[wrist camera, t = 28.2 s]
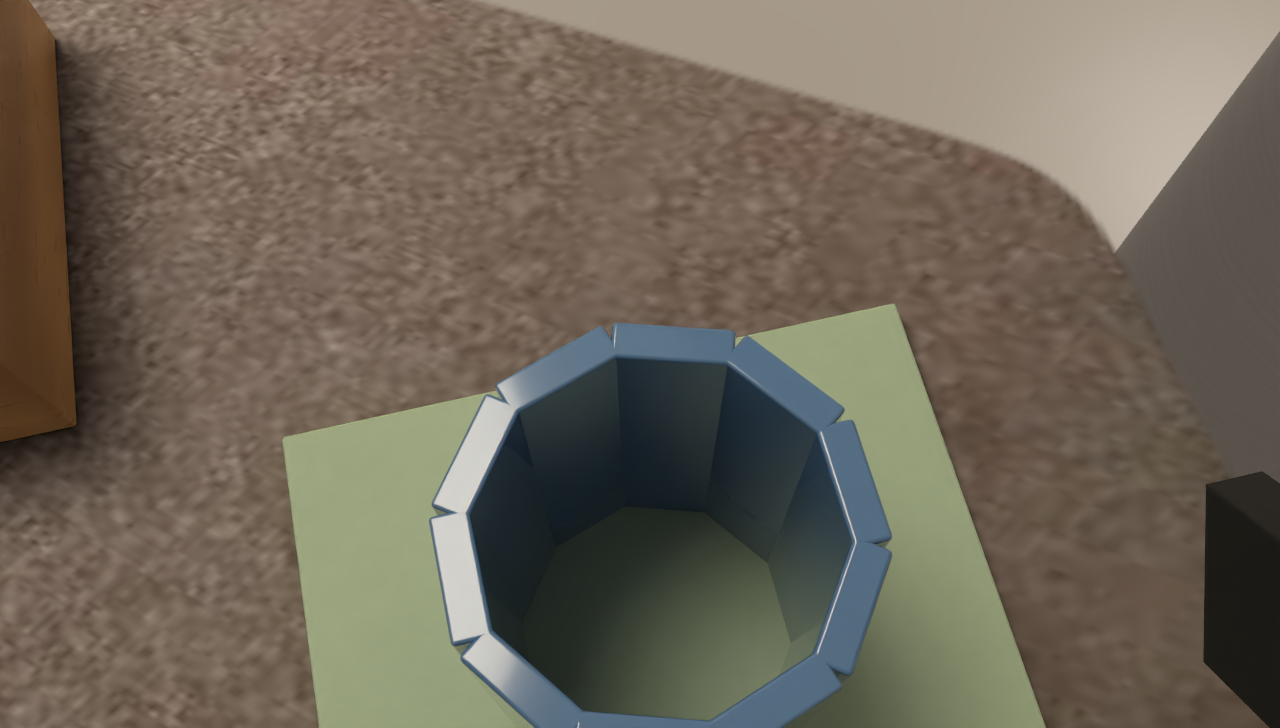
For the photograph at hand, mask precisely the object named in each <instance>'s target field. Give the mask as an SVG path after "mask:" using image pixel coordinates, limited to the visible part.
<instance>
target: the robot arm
mask: <svg viewBox="0 0 1280 728" xmlns="http://www.w3.org/2000/svg"><path fill="white" fill-rule="evenodd" d="M1204 663H1205V664H1206V665H1207V666H1208V667H1209V668H1210V669H1211V670H1212V671H1213V672H1214V673H1215V674H1216V675H1217V676H1218V677H1219V678H1220V679H1221V680H1222V681H1223V682H1224V683H1225V684H1226V685H1227V686H1228V687H1229V688H1230V689H1231V690H1232V691H1233V692H1234V693H1235V694H1236V695H1237V696H1238V697H1239V698H1240V699H1241V700H1242V701H1243V702H1244V703H1245V704H1246V705H1247V706H1248V707H1249V708H1250V709H1251V710H1252V711H1253V712H1254V713H1255V714H1256V715H1257V716H1258V717H1259V718H1261V719H1262V720H1263V721H1264V722H1265V723H1266V724H1267V725H1268V726H1269V727H1270V728H1280V483H1278V482H1277V481H1275V480H1274V479H1272V478H1271V477H1270V476H1268V475H1267V474H1265V473H1264V472H1258V473H1253V474H1249V475H1245V476H1241V477H1236V478H1232V479H1228V480H1224V481H1219V482H1215V483H1211V484H1206V528H1205V596H1204Z"/></svg>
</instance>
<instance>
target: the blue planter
mask: <svg viewBox="0 0 1280 728" xmlns="http://www.w3.org/2000/svg"><path fill="white" fill-rule="evenodd" d="M735 342H736V334H735V332H734V331H732V330H718V329H703V328H688V327H673V326H658V325H643V324H628V323H614V325H613V326H612V334H611V338H610V336H609V335H608V333H607V332H606V330H605V329H604V328H603V327H602V326H599V327H597V328H595V329H593V330H591V331H590V332H588V333H586V334H584V335H582V336H581V337H579V338H577V339H575V340H574V341H572V342H570V343H568V344H566V345H565V346H563V347H561V348H559V349H557V350H556V351H554V352H552V353H550V354H548V355H547V356H545V357H543V358H541V359H539V360H538V361H536V362H534V363H532V364H530V365H529V366H527V367H525V368H523V369H522V370H520V371H518V372H516V373H514V374H513V375H511V376H509V377H507V378H505V379H504V380H502V381H500V382H498V383H497V384H496V385H495V388H496V392H497V395H498V398H497V397H494V396H492V395H489V394H486V395H485V396H484V398H483V400H482V402H481V404H480V406H479V408H478V410H477V412H476V414H475V416H474V418H473V420H472V422H471V424H470V426H469V428H468V430H467V432H466V434H465V436H464V438H463V440H462V442H461V444H460V446H459V448H458V450H457V452H456V454H455V456H454V458H453V460H452V462H451V464H450V466H449V468H448V470H447V472H446V475H445V477H444V479H443V481H442V483H441V485H440V487H439V489H438V491H437V493H436V495H435V497H434V499H433V501H432V505H431V506H432V508H433V509H434V511H435V513H436V515H437V516H434V517H431V518H430V519H429V526H430V531H431V537H432V542H433V548H434V553H435V559H436V564H437V570H438V576H439V581H440V587H441V592H442V598H443V603H444V609H445V614H446V620H447V625H448V631H449V637H450V642H451V644H452V646H453V647H454V648H455V650H456V651H457V652H458V653H459V654H460V660H461V662H462V663H463V664H464V666H465V667H466V668H467V669H468V670H469V672H470V673H471V674H472V675H473V676H474V678H475V679H476V680H477V681H478V682H479V684H480V685H481V686H482V687H483V688H484V690H485V691H486V692H487V693H488V694H489V695H490V697H491V698H492V699H493V700H494V701H495V703H496V704H497V705H498V706H499V707H500V709H501V710H502V711H503V712H504V713H505V715H506V716H507V717H508V718H509V719H510V721H511V722H512V723H513V724H514V725H515V727H516V728H803V727H804V726H805V725H806V724H807V723H808V722H809V721H810V720H811V719H812V718H813V717H814V716H815V715H816V714H817V713H818V712H819V711H820V710H821V709H822V708H823V707H824V706H825V705H826V704H827V703H828V702H829V701H830V700H831V699H832V698H833V697H834V696H835V695H836V694H837V693H838V692H839V691H840V690H841V689H842V684H843V683H844V682H845V681H846V680H847V679H848V678H849V677H850V676H851V675H852V674H853V672H854V669H855V666H856V663H857V661H858V658H859V655H860V652H861V649H862V646H863V643H864V640H865V637H866V634H867V631H868V628H869V625H870V622H871V619H872V616H873V613H874V610H875V607H876V604H877V601H878V598H879V595H880V592H881V589H882V586H883V583H884V580H885V577H886V574H887V571H888V568H889V565H890V562H891V559H892V552H891V551H890V550H889V549H886V546H887V545H888V543H889V542H890V541H891V539H892V533H891V530H890V527H889V524H888V521H887V518H886V515H885V512H884V509H883V506H882V503H881V500H880V497H879V494H878V491H877V488H876V485H875V482H874V479H873V476H872V473H871V470H870V467H869V464H868V461H867V458H866V455H865V452H864V449H863V446H862V443H861V440H860V437H859V434H858V431H857V428H856V425H855V423H854V422H853V420H845V421H841V418H842V416H843V414H844V411H845V409H844V407H843V406H842V405H840V404H839V403H838V402H836V401H835V400H834V399H832V398H831V397H830V396H828V395H827V394H826V393H824V392H823V391H822V390H820V389H819V388H818V387H816V386H815V385H814V384H812V383H811V382H810V381H808V380H807V379H806V378H804V377H803V376H802V375H800V374H799V373H798V372H796V371H795V370H794V369H792V368H791V367H789V366H788V365H787V364H785V363H784V362H783V361H781V360H780V359H779V358H777V357H776V356H775V355H773V354H772V353H771V352H769V351H768V350H767V349H765V348H764V347H763V346H761V345H760V344H759V343H757V342H756V341H755V340H753V339H752V338H751V337H749V336H745V337H744V338H743V339H742V340H741V341H740V342H739V343H738V344H737V346H736V347H735ZM840 421H841V422H840ZM623 507H639V508H653V509H667V510H681V511H695V512H705V513H706V514H707V515H708V516H710V517H711V518H712V519H713V520H715V521H716V522H717V523H718V524H720V525H721V526H722V527H723V528H725V529H726V530H727V531H728V532H730V533H731V534H732V535H733V536H735V537H736V538H737V539H738V540H739V541H741V542H742V543H743V544H744V545H746V546H747V547H748V548H749V549H751V550H752V551H753V552H754V553H756V554H757V555H758V556H759V557H761V558H762V559H763V560H764V561H766V562H767V563H768V566H769V569H770V573H771V576H772V580H773V583H774V587H775V590H776V594H777V597H778V600H779V604H780V607H781V611H782V614H783V618H784V621H785V625H786V628H787V631H788V635H789V638H790V642H791V644H790V646H789V649H788V652H787V655H786V658H785V660H784V663H783V666H782V669H781V672H780V674H779V676H777V677H776V678H774V679H773V680H771V681H770V682H768V683H767V684H765V685H764V686H762V687H760V688H759V689H757V690H756V691H754V692H753V693H751V694H750V695H748V696H747V697H745V698H743V699H742V700H740V701H739V702H737V703H736V704H734V705H733V706H731V707H730V708H728V709H727V710H725V711H723V712H722V713H720V714H719V715H717V716H716V717H714V718H713V719H711V720H710V721H709V720H696V719H683V718H670V717H657V716H644V715H631V714H618V713H605V712H592V711H584V710H583V709H581V708H580V707H579V706H578V705H577V704H576V703H575V702H574V701H572V700H571V699H570V698H569V697H568V696H567V695H566V694H565V693H563V692H562V691H561V690H560V689H559V688H558V687H557V686H556V685H554V684H553V683H552V682H551V681H550V680H549V679H548V678H547V677H545V676H544V675H543V674H542V673H541V672H540V671H539V670H538V669H536V668H535V667H534V666H533V665H532V664H531V663H530V659H529V655H528V650H527V645H526V640H525V635H524V630H523V625H522V622H523V620H524V617H525V615H526V613H527V611H528V608H529V606H530V604H531V602H532V599H533V597H534V595H535V593H536V590H537V588H538V586H539V584H540V582H541V579H542V577H543V575H544V573H545V570H546V568H547V566H548V564H549V561H550V559H551V557H552V555H553V552H554V550H555V548H556V547H558V546H559V545H561V544H563V543H564V542H566V541H568V540H569V539H571V538H573V537H574V536H576V535H578V534H580V533H581V532H583V531H585V530H586V529H588V528H590V527H591V526H593V525H595V524H596V523H598V522H600V521H601V520H603V519H605V518H606V517H608V516H610V515H611V514H613V513H615V512H616V511H618V510H620V509H621V508H623Z"/></svg>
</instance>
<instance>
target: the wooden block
mask: <svg viewBox="0 0 1280 728" xmlns="http://www.w3.org/2000/svg"><path fill="white" fill-rule="evenodd" d="M73 426H76V406H75V388H74V371H73V353H72V335H71V318H70V300H69V283H68V265H67V247H66V230H65V212H64V194H63V177H62V159H61V142H60V124H59V106H58V89H57V71H56V53H55V37H54V36H53V34H52V33H51V31H50V30H49V29H48V27H47V26H46V24H45V23H44V21H43V20H42V19H41V17H40V16H39V14H38V13H37V11H36V10H35V9H34V7H33V6H32V4H31V3H30V1H29V0H0V442H3V441H8V440H13V439H17V438H22V437H27V436H31V435H36V434H41V433H45V432H50V431H55V430H59V429H64V428H68V427H73Z"/></svg>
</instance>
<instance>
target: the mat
mask: <svg viewBox="0 0 1280 728" xmlns="http://www.w3.org/2000/svg"><path fill="white" fill-rule="evenodd" d="M748 336H749V337H751V338H752V339H753V340H755V341H756V342H757V343H759V344H760V345H761V346H763V347H764V348H765V349H767V350H768V351H769V352H771V353H772V354H773V355H775V356H776V357H777V358H779V359H780V360H781V361H783V362H784V363H785V364H787V365H788V366H789V367H791V368H792V369H794V370H795V371H796V372H798V373H799V374H800V375H802V376H803V377H804V378H806V379H807V380H808V381H810V382H811V383H812V384H814V385H815V386H816V387H818V388H819V389H820V390H822V391H823V392H824V393H826V394H827V395H828V396H830V397H831V398H832V399H834V400H835V401H836V402H838V403H839V404H840V405H842V406H843V407H844V409H845V411H844V414H843V416H842V418H841V421H845V420H853V422H854V423H855V425H856V428H857V431H858V434H859V437H860V440H861V443H862V446H863V449H864V452H865V455H866V458H867V461H868V464H869V467H870V470H871V473H872V476H873V479H874V482H875V485H876V488H877V491H878V494H879V497H880V500H881V503H882V506H883V509H884V512H885V515H886V518H887V521H888V524H889V527H890V530H891V533H892V539H891V541H890V542H889V543H888V545H887V546H886V549H889V550H890V551H891V552H892V559H891V562H890V565H889V568H888V571H887V574H886V577H885V580H884V583H883V586H882V589H881V592H880V595H879V598H878V601H877V604H876V607H875V610H874V613H873V616H872V619H871V622H870V625H869V628H868V631H867V634H866V637H865V640H864V643H863V646H862V649H861V652H860V655H859V658H858V661H857V663H856V666H855V669H854V672H853V674H852V675H851V676H850V677H849V678H848V679H847V680H846V681H845V682H844V683H843V684H842V689H841V690H840V691H839V692H838V693H837V694H836V695H835V696H834V697H833V698H832V699H831V700H830V701H829V702H828V703H827V704H826V705H825V706H824V707H823V708H822V709H821V710H820V711H819V712H818V713H817V714H816V715H815V716H814V717H813V718H812V719H811V720H810V721H809V722H808V723H807V724H806V725H805V726H804V727H803V728H1046V726H1045V723H1044V720H1043V717H1042V715H1041V712H1040V709H1039V706H1038V703H1037V701H1036V698H1035V695H1034V692H1033V689H1032V687H1031V684H1030V681H1029V678H1028V675H1027V673H1026V670H1025V667H1024V664H1023V661H1022V658H1021V656H1020V653H1019V650H1018V647H1017V644H1016V642H1015V639H1014V636H1013V633H1012V630H1011V628H1010V625H1009V622H1008V619H1007V616H1006V614H1005V611H1004V608H1003V605H1002V602H1001V600H1000V597H999V594H998V591H997V588H996V586H995V583H994V580H993V577H992V574H991V571H990V569H989V566H988V563H987V560H986V557H985V555H984V552H983V549H982V546H981V543H980V541H979V538H978V535H977V532H976V529H975V527H974V524H973V521H972V518H971V515H970V513H969V510H968V507H967V504H966V501H965V499H964V496H963V493H962V490H961V487H960V484H959V482H958V479H957V476H956V473H955V470H954V468H953V465H952V462H951V459H950V456H949V454H948V451H947V448H946V445H945V442H944V440H943V437H942V434H941V431H940V428H939V426H938V423H937V420H936V417H935V414H934V411H933V409H932V406H931V403H930V400H929V397H928V395H927V392H926V389H925V386H924V383H923V381H922V378H921V375H920V372H919V369H918V367H917V364H916V361H915V358H914V355H913V353H912V350H911V347H910V344H909V341H908V339H907V336H906V333H905V330H904V327H903V324H902V322H901V319H900V316H899V313H898V310H897V308H896V305H895V304H889V305H884V306H880V307H875V308H871V309H866V310H861V311H857V312H852V313H848V314H843V315H839V316H834V317H830V318H825V319H820V320H816V321H811V322H807V323H802V324H798V325H793V326H789V327H784V328H779V329H775V330H770V331H766V332H761V333H757V334H752V335H748ZM744 337H745V336H743V337H738V338H736V342H735V347H736V346H737V344H738V343H739V342H740V341H741V340H742V339H743V338H744ZM486 394H489V395H492V396H494V397H497V398H498V395H497V392H496V391H492V392H488V393H483V394H479V395H474V396H469V397H465V398H460V399H456V400H451V401H447V402H442V403H438V404H433V405H428V406H424V407H419V408H415V409H410V410H406V411H401V412H397V413H392V414H387V415H383V416H378V417H374V418H369V419H365V420H360V421H355V422H351V423H346V424H342V425H337V426H333V427H328V428H324V429H319V430H314V431H310V432H305V433H301V434H296V435H292V436H287V437H284V438H283V440H282V441H283V449H284V457H285V465H286V473H287V480H288V488H289V496H290V504H291V512H292V520H293V527H294V535H295V543H296V551H297V559H298V567H299V574H300V582H301V590H302V598H303V606H304V614H305V621H306V629H307V637H308V645H309V653H310V661H311V668H312V676H313V684H314V692H315V700H316V708H317V715H318V723H319V728H516V727H515V725H514V724H513V723H512V722H511V721H510V719H509V718H508V717H507V716H506V715H505V713H504V712H503V711H502V710H501V709H500V707H499V706H498V705H497V704H496V703H495V701H494V700H493V699H492V698H491V697H490V695H489V694H488V693H487V692H486V691H485V690H484V688H483V687H482V686H481V685H480V684H479V682H478V681H477V680H476V679H475V678H474V676H473V675H472V674H471V673H470V672H469V670H468V669H467V668H466V667H465V666H464V664H463V663H462V662H461V660H460V654H459V653H458V652H457V651H456V650H455V648H454V647H453V646H452V644H451V642H450V637H449V631H448V625H447V620H446V614H445V609H444V603H443V598H442V592H441V587H440V581H439V576H438V570H437V564H436V559H435V553H434V548H433V542H432V537H431V531H430V526H429V519H430V518H431V517H434V516H437V515H436V513H435V511H434V509H433V508H432V506H431V505H432V501H433V499H434V497H435V495H436V493H437V491H438V489H439V487H440V485H441V483H442V481H443V479H444V477H445V475H446V472H447V470H448V468H449V466H450V464H451V462H452V460H453V458H454V456H455V454H456V452H457V450H458V448H459V446H460V444H461V442H462V440H463V438H464V436H465V434H466V432H467V430H468V428H469V426H470V424H471V422H472V420H473V418H474V416H475V414H476V412H477V410H478V408H479V406H480V404H481V402H482V400H483V398H484V396H485V395H486ZM841 421H840V422H841ZM522 625H523V630H524V635H525V640H526V645H527V650H528V655H529V659H530V663H531V664H532V665H533V666H534V667H535V668H536V669H538V670H539V671H540V672H541V673H542V674H543V675H544V676H545V677H547V678H548V679H549V680H550V681H551V682H552V683H553V684H554V685H556V686H557V687H558V688H559V689H560V690H561V691H562V692H563V693H565V694H566V695H567V696H568V697H569V698H570V699H571V700H572V701H574V702H575V703H576V704H577V705H578V706H579V707H580V708H581V709H583V710H584V711H592V712H605V713H618V714H631V715H644V716H657V717H670V718H683V719H696V720H709V721H710V720H711V719H713V718H714V717H716V716H717V715H719V714H720V713H722V712H723V711H725V710H727V709H728V708H730V707H731V706H733V705H734V704H736V703H737V702H739V701H740V700H742V699H743V698H745V697H747V696H748V695H750V694H751V693H753V692H754V691H756V690H757V689H759V688H760V687H762V686H764V685H765V684H767V683H768V682H770V681H771V680H773V679H774V678H776V677H777V676H779V674H780V672H781V669H782V666H783V663H784V660H785V658H786V655H787V652H788V649H789V646H790V644H791V642H790V638H789V635H788V631H787V628H786V625H785V621H784V618H783V614H782V611H781V607H780V604H779V600H778V597H777V594H776V590H775V587H774V583H773V580H772V576H771V573H770V569H769V566H768V563H767V562H766V561H764V560H763V559H762V558H761V557H759V556H758V555H757V554H756V553H754V552H753V551H752V550H751V549H749V548H748V547H747V546H746V545H744V544H743V543H742V542H741V541H739V540H738V539H737V538H736V537H735V536H733V535H732V534H731V533H730V532H728V531H727V530H726V529H725V528H723V527H722V526H721V525H720V524H718V523H717V522H716V521H715V520H713V519H712V518H711V517H710V516H708V515H707V514H706V513H705V512H695V511H681V510H667V509H653V508H639V507H623V508H621V509H620V510H618V511H616V512H615V513H613V514H611V515H610V516H608V517H606V518H605V519H603V520H601V521H600V522H598V523H596V524H595V525H593V526H591V527H590V528H588V529H586V530H585V531H583V532H581V533H580V534H578V535H576V536H574V537H573V538H571V539H569V540H568V541H566V542H564V543H563V544H561V545H559V546H558V547H556V548H555V550H554V552H553V555H552V557H551V559H550V561H549V564H548V566H547V568H546V570H545V573H544V575H543V577H542V579H541V582H540V584H539V586H538V588H537V590H536V593H535V595H534V597H533V599H532V602H531V604H530V606H529V608H528V611H527V613H526V615H525V617H524V620H523V622H522Z"/></svg>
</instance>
